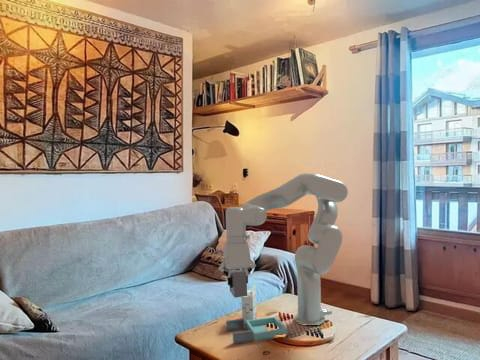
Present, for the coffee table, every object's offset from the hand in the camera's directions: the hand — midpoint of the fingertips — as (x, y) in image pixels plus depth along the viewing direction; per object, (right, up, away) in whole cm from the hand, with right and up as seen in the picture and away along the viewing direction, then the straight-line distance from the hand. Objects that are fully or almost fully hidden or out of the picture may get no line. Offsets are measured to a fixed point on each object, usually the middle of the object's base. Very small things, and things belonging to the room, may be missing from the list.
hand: (237, 285), depth 151 cm
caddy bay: (0, -20, +1) cm, 20 cm away
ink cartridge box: (+5, -19, +15) cm, 25 cm away
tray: (+11, -19, +4) cm, 23 cm away
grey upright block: (0, -3, 0) cm, 3 cm away
